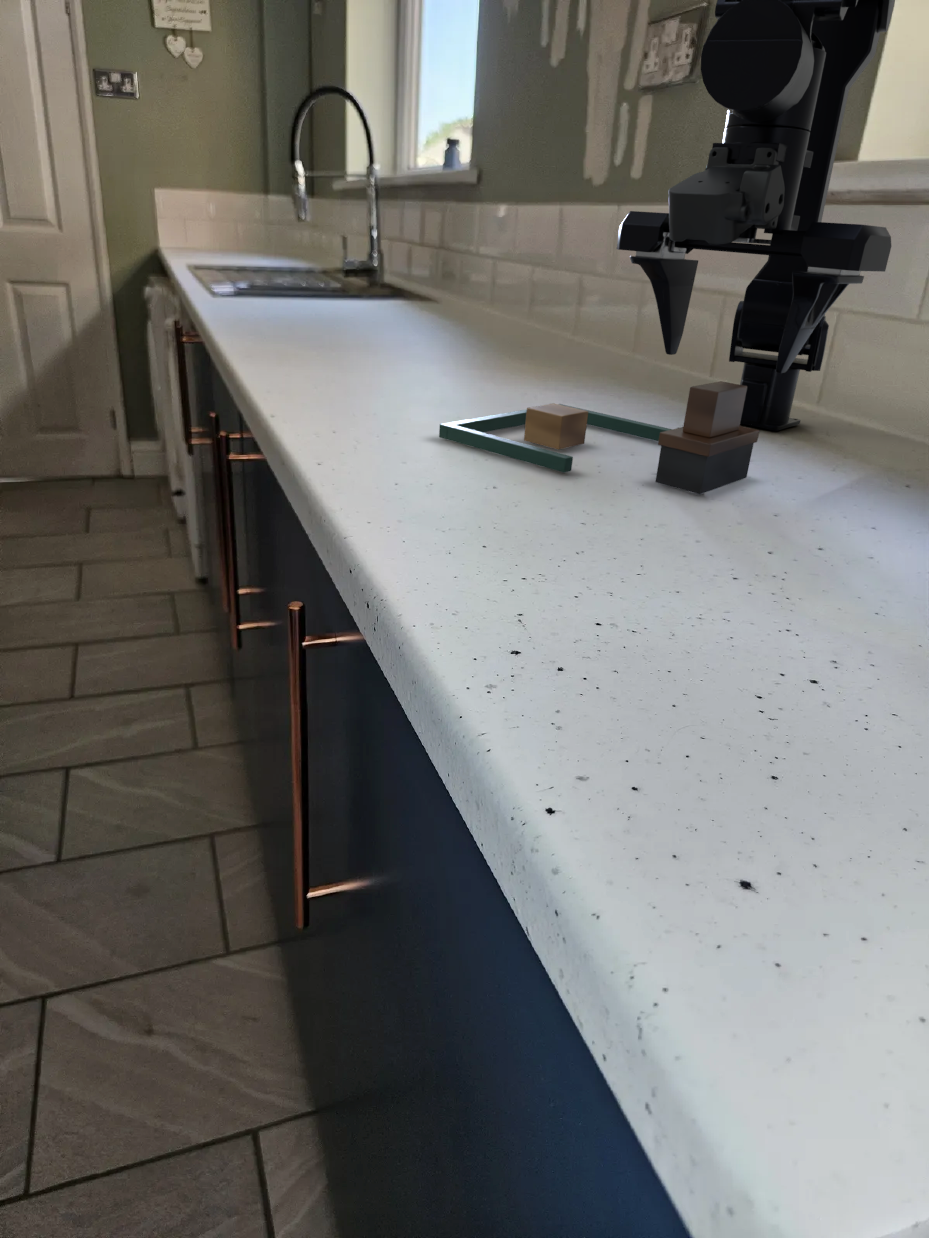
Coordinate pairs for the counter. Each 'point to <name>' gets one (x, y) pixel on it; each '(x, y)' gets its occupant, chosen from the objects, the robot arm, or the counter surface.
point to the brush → (708, 441)
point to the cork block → (555, 426)
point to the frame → (474, 436)
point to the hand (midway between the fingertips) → (723, 363)
